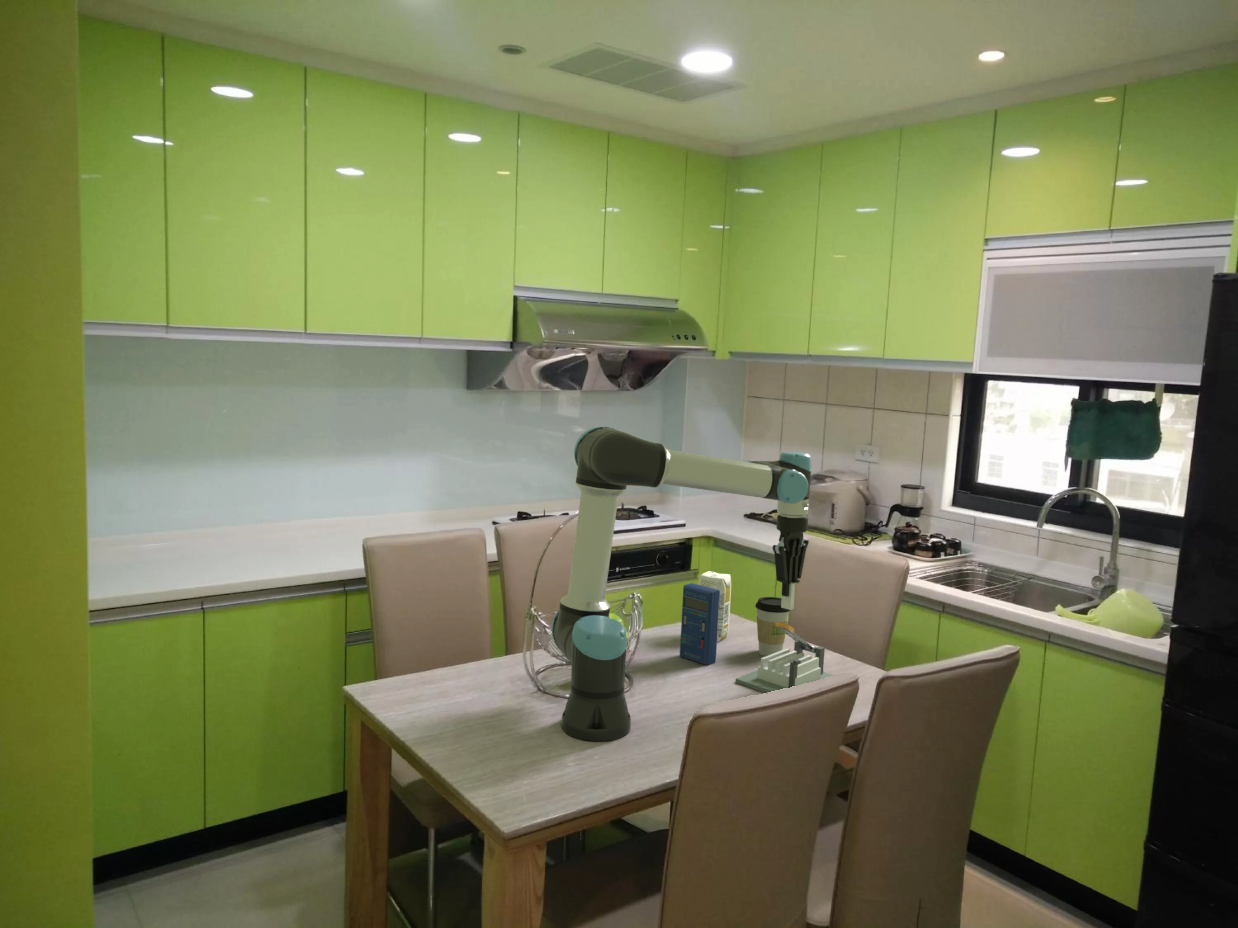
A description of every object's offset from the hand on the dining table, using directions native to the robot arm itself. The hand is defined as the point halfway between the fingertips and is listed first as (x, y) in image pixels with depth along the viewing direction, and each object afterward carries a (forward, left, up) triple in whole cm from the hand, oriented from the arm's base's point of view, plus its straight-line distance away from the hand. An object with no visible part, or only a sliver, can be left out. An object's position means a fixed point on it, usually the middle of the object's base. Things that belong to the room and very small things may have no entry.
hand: (787, 607), depth 224 cm
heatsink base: (+4, 0, -20) cm, 21 cm away
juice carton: (+17, +35, -20) cm, 44 cm away
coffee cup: (+19, +16, -20) cm, 32 cm away
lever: (+5, 0, -10) cm, 11 cm away
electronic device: (-1, +26, -20) cm, 33 cm away
